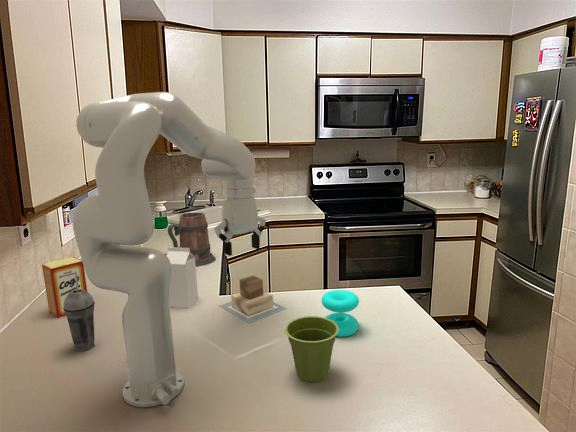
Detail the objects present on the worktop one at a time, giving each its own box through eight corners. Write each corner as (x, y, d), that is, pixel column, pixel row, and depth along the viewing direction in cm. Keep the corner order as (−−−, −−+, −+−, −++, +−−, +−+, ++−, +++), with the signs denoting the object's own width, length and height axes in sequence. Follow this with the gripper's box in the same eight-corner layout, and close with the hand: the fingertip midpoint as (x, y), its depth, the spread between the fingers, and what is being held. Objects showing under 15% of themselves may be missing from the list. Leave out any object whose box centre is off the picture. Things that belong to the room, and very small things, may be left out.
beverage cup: (66, 356, 105) (54, 280, 101) (72, 342, 112) (62, 271, 108) (97, 351, 107) (87, 277, 103) (102, 338, 114) (92, 267, 110)
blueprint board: (286, 311, 127) (286, 308, 127) (248, 325, 119) (248, 322, 118) (255, 295, 139) (255, 293, 139) (219, 308, 130) (218, 305, 130)
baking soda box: (80, 302, 138) (73, 255, 135) (89, 307, 134) (82, 259, 130) (49, 312, 131) (41, 263, 128) (57, 318, 127) (50, 267, 123)
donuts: (366, 295, 112) (341, 306, 106) (366, 330, 114) (341, 342, 108) (339, 285, 120) (313, 295, 114) (339, 318, 122) (314, 329, 116)
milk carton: (189, 310, 129) (184, 251, 125) (167, 309, 131) (162, 250, 127) (198, 301, 136) (194, 244, 132) (178, 300, 138) (173, 244, 134)
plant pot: (275, 374, 95) (273, 328, 93) (310, 354, 103) (310, 311, 101) (314, 397, 87) (313, 347, 84) (349, 373, 95) (349, 327, 92)
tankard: (198, 252, 190) (194, 208, 186) (224, 258, 180) (221, 212, 176) (153, 266, 172) (148, 218, 168) (180, 274, 162) (175, 224, 158)
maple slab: (273, 307, 128) (272, 295, 127) (248, 316, 123) (248, 303, 122) (255, 298, 135) (255, 287, 134) (231, 307, 129) (231, 294, 128)
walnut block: (263, 295, 128) (262, 279, 127) (249, 299, 125) (249, 283, 123) (253, 290, 131) (252, 275, 130) (240, 294, 128) (239, 279, 127)
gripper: (256, 189, 129) (258, 243, 132) (206, 196, 118) (210, 254, 122) (271, 192, 123) (273, 248, 127) (220, 198, 113) (223, 260, 116)
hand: (242, 251), depth 124 cm, fingers open, 9 cm apart
